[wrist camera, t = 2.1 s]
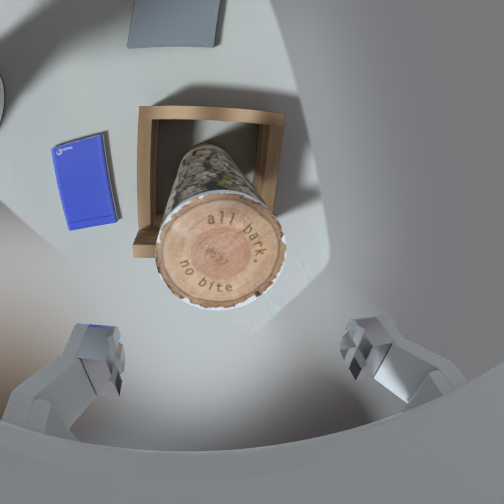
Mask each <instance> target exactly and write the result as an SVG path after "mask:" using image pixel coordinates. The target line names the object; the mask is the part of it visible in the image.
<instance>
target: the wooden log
mask: <svg viewBox="0 0 504 504" xmlns="http://www.w3.org/2000/svg"><path fill="white" fill-rule="evenodd" d="M285 257H286V241H285V236H284V232H283V230H282V227H281V225H280V223H279V221H278V220H277V218H276V216H275V215H274V213H273V212H272V211H271V209H270V208H269V207H268V205H267V204H266V203H265V201H264V200H263V199H262V198H261V196H260V195H259V194H258V192H257V191H256V190H255V188H254V187H253V186H252V184H251V183H250V182H249V181H248V179H247V178H246V177H245V175H244V174H243V173H242V171H241V170H240V169H239V168H238V166H237V165H236V164H235V163H234V161H233V160H232V159H231V157H230V156H229V155H228V154H227V153H226V152H225V151H224V150H223V149H222V148H221V147H219V146H217V145H214V144H200V145H197V146H194V147H193V148H191V149H190V150H189V151H188V152H187V153H186V154H185V155H184V157H183V159H182V161H181V163H180V166H179V169H178V172H177V175H176V178H175V181H174V184H173V187H172V190H171V193H170V196H169V199H168V202H167V206H166V209H165V212H164V215H163V219H162V222H161V226H160V229H159V233H158V236H157V241H156V249H155V258H156V265H157V269H158V272H159V275H160V277H161V279H162V280H163V282H164V284H165V285H166V286H167V288H168V289H169V290H170V291H171V292H172V293H173V294H174V295H175V296H177V297H178V298H179V299H181V300H182V301H184V302H186V303H188V304H190V305H192V306H195V307H198V308H202V309H208V310H228V309H233V308H237V307H241V306H243V305H246V304H248V303H250V302H252V301H254V300H256V299H257V298H259V297H260V296H262V295H263V294H264V293H265V292H267V291H268V290H269V289H270V288H271V286H272V285H273V284H274V283H275V281H276V280H277V278H278V277H279V275H280V273H281V271H282V268H283V266H284V262H285Z"/></svg>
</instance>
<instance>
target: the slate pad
mask: <svg viewBox="0 0 504 504" xmlns="http://www.w3.org/2000/svg"><path fill="white" fill-rule="evenodd" d="M219 5H220V0H135V5H134V10H133V15H132V20H131V25H130V31H129V37H128V43H127V48H129V49H130V48H144V47H212V48H213V46H214V39H215V31H216V24H217V18H218V11H219Z"/></svg>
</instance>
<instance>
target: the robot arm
mask: <svg viewBox="0 0 504 504" xmlns="http://www.w3.org/2000/svg"><path fill="white" fill-rule="evenodd" d="M3 107H4V88H3V83H2V80H1V78H0V121H1V118H2V113H3ZM346 329H347V331H348V332H347V333H346V334H345V335H344V336H343V337H342V340H341V343H340V351H341V355H342V357H343V359H344V360H345V361H347V362H348V363H350V366H349V370H350V371H351V373H352V375H353V377H354V379H355V380H356V381H357V380H362V379H367V378H372V377H374V379H376V380H377V381H378V382H380V383H381V384H382V385H384V386H385V387H386V388H388V389H389V390H390V391H392V392H393V393H394V394H396V395H397V396H398V397H400V398H401V399H402V400H404V401H405V402H407V405H406V406H405V407H404V409H403V410H402V412H401V413H399V414H397V415H394V416H391V417H388V418H386V419H383V420H379V421H376V422H374V423H370V424H367V425H364V426H360V427H357V428H353V429H350V430H346V431H342V432H338V433H334V434H330V435H326V436H322V437H317V438H313V439H307V440H302V441H297V442H291V443H286V444H279V445H273V446H266V447H258V448H248V449H238V450H225V451H202V452H169V451H168V452H167V451H147V450H135V449H124V448H115V447H108V446H101V445H94V444H88V443H83V442H78V440H77V439H76V437H75V436H74V435H73V434H72V433H71V431H70V430H69V428H70V427H71V425H72V424H73V423H74V422H75V420H76V419H77V418H78V417H79V416H80V415H81V414H82V413H83V411H84V410H85V409H86V408H87V407H88V406H89V404H90V403H91V402H92V401H93V400H94V399H95V397H96V395H105V396H120V391H121V385H122V380H121V377H120V374H121V373H122V372H124V366H125V353H124V348H123V345H122V344H121V343H120V342H119V339H120V332H119V329H118V328H117V327H115V326H102V325H91V324H90V325H88V324H79V323H77V324H76V325H75V326H74V328H73V330H72V333H71V335H70V337H69V340H68V342H67V344H66V347H65V349H64V352H63V354H62V357H61V356H58V357H56V358H55V359H54V360H52V361H51V362H50V363H48V364H47V365H46V366H44V367H43V368H42V369H40V370H39V371H38V372H36V373H35V374H34V375H32V376H31V377H30V378H28V379H27V380H26V381H25V382H23V383H22V384H21V385H19V386H18V387H17V388H16V389H14V390H13V391H12V393H11V396H10V399H9V401H8V404H7V407H6V410H5V412H4V415H3V418H2V420H0V504H504V362H502V363H501V364H499V365H498V366H496V367H494V368H493V369H491V370H490V371H488V372H486V373H484V374H483V375H481V376H479V377H477V378H476V379H474V380H472V381H470V382H467V380H466V379H465V378H464V376H463V375H462V374H461V373H460V371H459V370H458V369H457V368H456V366H455V365H454V364H453V363H452V362H450V361H448V360H446V359H444V358H442V357H440V356H438V355H436V354H434V353H432V352H430V351H429V350H426V349H425V348H423V347H420V346H419V345H417V344H415V343H413V342H411V341H409V340H406V341H405V340H404V338H403V337H402V336H401V334H400V333H399V332H398V331H397V329H396V328H395V327H394V326H393V324H392V323H391V322H390V321H389V319H388V318H387V317H386V316H384V315H381V316H373V317H368V318H359V319H351V320H350V321H349V322H348V324H347V326H346Z"/></svg>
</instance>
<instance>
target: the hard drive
mask: <svg viewBox="0 0 504 504" xmlns="http://www.w3.org/2000/svg"><path fill="white" fill-rule="evenodd" d="M51 151H52V158H53V163H54V169H55V174H56V179H57V184H58V189H59V193H60V198H61V202H62V206H63V210H64V214H65V218H66V221H67V225H68V229H69V230H76V229H82V228H87V227H92V226H98V225H104V224H110V223H115V222H117V221H118V216H117V211H116V206H115V201H114V196H113V191H112V185H111V180H110V174H109V168H108V162H107V155H106V148H105V141H104V134H100V135H96V136H92V137H88V138H84V139H81V140H77V141H73V142H70V143H66V144H63V145H60V146H56V147H53V148H51Z"/></svg>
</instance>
